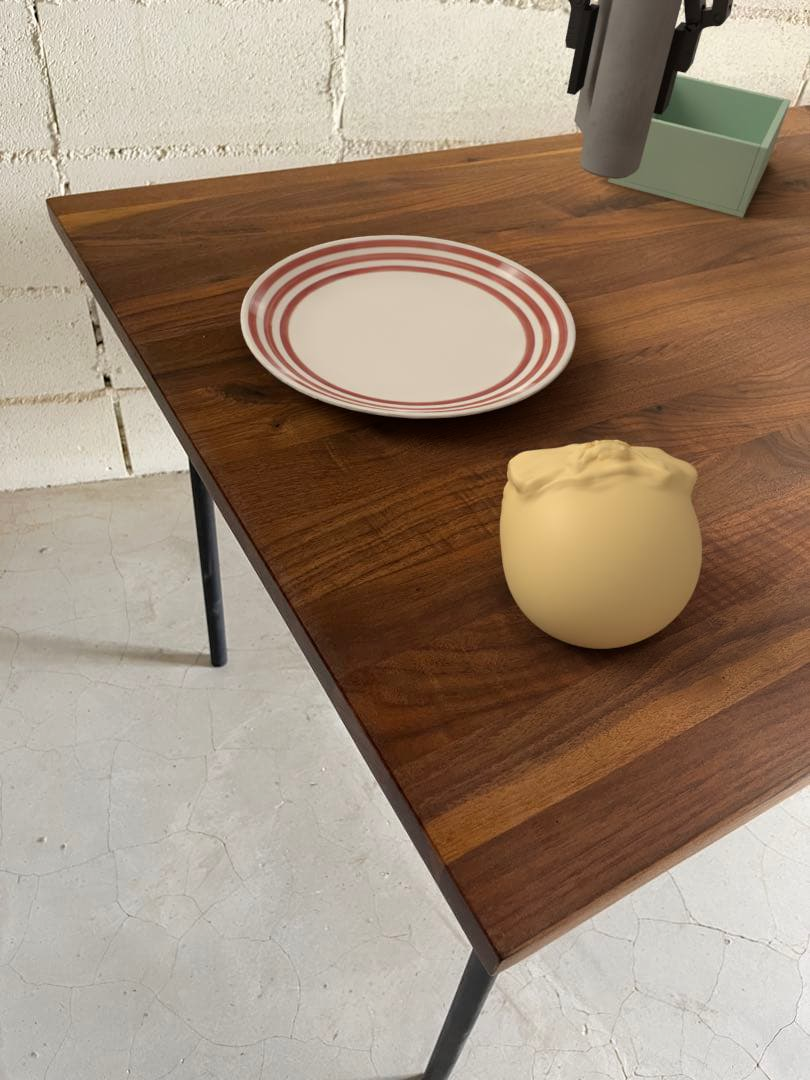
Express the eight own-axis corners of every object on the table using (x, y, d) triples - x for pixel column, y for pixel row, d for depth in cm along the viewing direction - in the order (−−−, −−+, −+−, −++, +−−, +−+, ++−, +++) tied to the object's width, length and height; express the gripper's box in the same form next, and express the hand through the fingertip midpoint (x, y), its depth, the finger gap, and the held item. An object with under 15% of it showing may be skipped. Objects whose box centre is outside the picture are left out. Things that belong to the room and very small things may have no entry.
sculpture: (635, 527, 61) (683, 399, 53) (700, 667, 53) (767, 539, 45) (473, 534, 59) (499, 402, 52) (514, 680, 51) (551, 549, 43)
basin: (766, 165, 110) (791, 99, 105) (741, 220, 98) (767, 148, 93) (645, 135, 114) (662, 70, 109) (607, 184, 102) (624, 113, 97)
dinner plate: (312, 481, 61) (313, 443, 59) (201, 289, 78) (198, 254, 76) (632, 405, 71) (643, 370, 69) (472, 248, 88) (477, 216, 86)
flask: (647, 183, 76) (723, -100, 62) (580, 176, 76) (640, -109, 62) (631, 121, 86) (693, -134, 72) (572, 114, 87) (622, -141, 72)
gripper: (544, -262, 62) (497, 86, 78) (837, -226, 57) (722, 139, 73) (576, -263, 67) (525, 64, 83) (848, -230, 62) (738, 112, 78)
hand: (617, 99), depth 78 cm, fingers closed on flask, 7 cm apart
